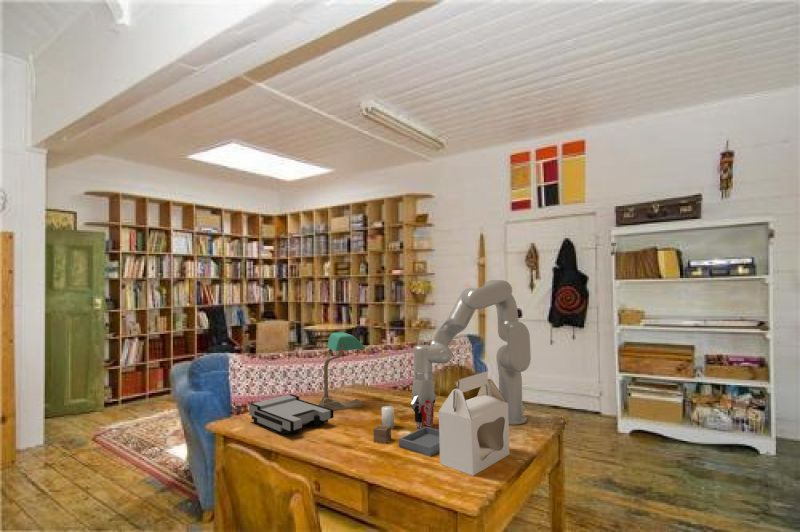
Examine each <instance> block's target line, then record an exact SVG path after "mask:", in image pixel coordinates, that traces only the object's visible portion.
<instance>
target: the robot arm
mask: <svg viewBox="0 0 800 532" xmlns="http://www.w3.org/2000/svg"><path fill="white" fill-rule="evenodd" d="M494 305H495V308H496V314H497V316H496V317H497V333H498V337H499V339H500V340H502V341H504V342H506V343H507V344H504V345H502V346H500V347H499V348H498V349H497V352H496V356H495V358H496V365H497V371H498V373H497V375H498V390H499V391H500V393H501V394H502V396H503V397H504V399H505V400H506V402H507V403H508V420H509V425H512V426H513V425H515V426H517V425H523V424H525V423H527V421H528V420H527V419H528V418H527V417H526V416H525V415H524V414H523V413H524V411H526V407H525V406H523V380H522V379H523V378H522V377H523V376H522V373H523V372H525V371H526V370H527V369H528V368H529V366H530V364H531V357H532V355H531V354H532V353H531V338H530V331H529V328H528V327H527V325H526V324H524V323H523V322H521V321H519V314H518V313H519V312H518V306H517V302H516V299H515V297H514V296H513V287H512V284H510V283H509V282H508V281H506V280H505V279H504V280H503V279H490V280H488V281H486V282H485V283H483V286H479V287H476V288H475V287H473V288H471V287H470V288H465V289H464V290H462V292H461V294H459V296H458V299H457V300H456V302H455V304H454V306H453V308H452V310H451V312H450V314H449V315H448V316H447V319H446V320H445V321H444V322H443V324H441V326H440V327H439V328H438V330H437V331H436V333H435V335H434V337H433V339H432V341H431V342H430V344H417V345H415V346H414V347H413V371H414V372H413V375H414V376H413V377H414V379H413V381H412V387H411V403H410V404H409V405H410V407H411V408H412V410H413V412H414V422H415V423H416V422H419V423H421V422H422V412H421V409H422V406H423V405H424V403H425V401H426V400H427V399H430V398H431V400H432V403H433V408H435V403H436V399H437V395H436V393H435V383H434V378H433V364H440V365H442V364H444V365H445V364H447V363H449V362H450V361H451V360H452V358H453V351H452V349H451V348H450V347H449V345H450V344H451V342H452V340H453V339H454V338H455V337H456V336H457V335H458V334H459V333H461V332H463V331H464V330H465V329H467V327H468V325H469V323H470V321H471V319H472V318H473V315H474V314H475V312H476V310H481V309H485V308H488V307H491V306H494ZM417 402H419V404H417ZM417 406H419V409H418V408H417ZM434 416H435V415H434V412H433V418H434Z"/></svg>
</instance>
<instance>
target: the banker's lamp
mask: <svg viewBox="0 0 800 532" xmlns="http://www.w3.org/2000/svg"><path fill="white" fill-rule="evenodd" d="M326 348H328V352H327V356H326V360H325V362H324V365H323V386H324V387H323V394H324V395H323V396H322V397H321V400H320V401H319V402H318V405H319V406H323V407H326V408H329V409H333V412H335V411H343V410H349V409H355V408H356V409H357V408H361V407H362V408H363V407H364V406H363V405H364V403H363V402H362V401H361V400H360V399H358V398H355V399H354V400H347V401H340V400H338V399H337V398H332V396H331V395H329V364H330V362H331V361H332V360H335V359H338V358H340V357H342V354H343V352H344V351H353V350H362V349H363V350H364V349H366V346H364V344H362V343H361V341H359V340H358V338H357V337H355V336H354V335H353V334H349V333H346V332H343V331H339V332H331V333H330V335H329V338H328V342H327V345H326ZM332 352H338V353H337V355H334V356H332Z"/></svg>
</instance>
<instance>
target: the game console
mask: <svg viewBox="0 0 800 532" xmlns="http://www.w3.org/2000/svg"><path fill="white" fill-rule="evenodd" d="M248 405H249V406H248V408H249V409H248V410H249V411H248V413H249V416H251V420H253V424H255V425H257V426H260V427H262V428H264V429H267V430H269V431H272V432H274V433H276V434H278V435H281V436H282V437H288V436H291V435H294V434H298V433H299V432H300V431H302V430H303V429H302V428H303V425H305V426H307V427H311V428H316V427H319V426H322V425H323V426H324V425H325V423H328V422H329V420H330V419H334V411H333V409H329V408H326V407H323V406H319V404H316V403H313V402H309V401H306V400H303V399H300V396H299V395H295V394H291V393H290V394H286V395H282V396H278V397H273V398H269V399H265V400H261V401H256V402H253V403H249V404H248Z"/></svg>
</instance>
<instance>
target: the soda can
mask: <svg viewBox="0 0 800 532" xmlns="http://www.w3.org/2000/svg"><path fill="white" fill-rule="evenodd" d="M417 404H419V402H417ZM417 408H418V409H419V406H417ZM421 412H422V422H421V423H419V422H416V421H415V424H416V425H415V426H416V427H417V428H418V430H419V429H421V428H423V427H429V428H432V427H433V425H434V417H433V413H434V407H433V403H432V400H431V398H430V399H427V400H426V401H425V403H424V405H423V406H422V409H421Z"/></svg>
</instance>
